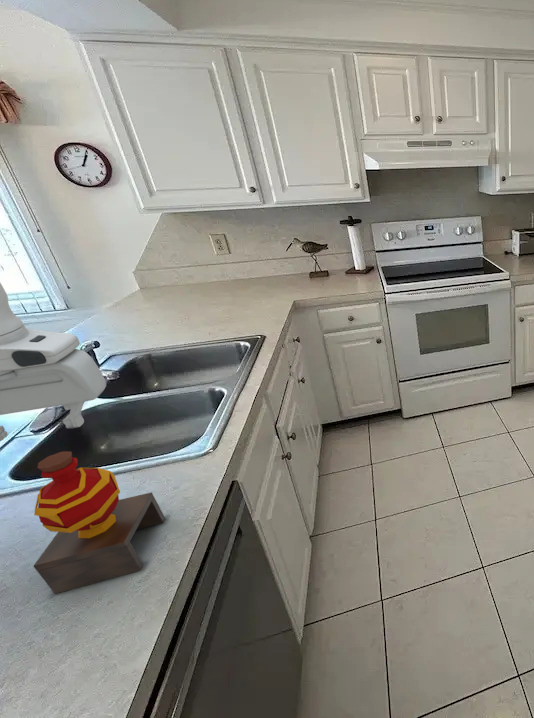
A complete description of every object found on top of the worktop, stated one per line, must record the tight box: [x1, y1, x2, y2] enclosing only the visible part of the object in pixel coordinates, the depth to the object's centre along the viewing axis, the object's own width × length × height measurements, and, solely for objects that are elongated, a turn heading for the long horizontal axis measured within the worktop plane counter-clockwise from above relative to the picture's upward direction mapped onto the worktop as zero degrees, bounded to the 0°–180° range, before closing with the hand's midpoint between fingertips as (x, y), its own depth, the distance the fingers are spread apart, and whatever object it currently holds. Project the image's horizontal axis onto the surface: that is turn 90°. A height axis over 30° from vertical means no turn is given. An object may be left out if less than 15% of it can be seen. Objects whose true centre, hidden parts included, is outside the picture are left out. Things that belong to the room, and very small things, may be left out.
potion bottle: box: [33, 450, 121, 538], centre depth 69 cm, size 10×10×15 cm
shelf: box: [33, 492, 166, 595], centre depth 74 cm, size 12×12×7 cm
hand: (38, 432), depth 63 cm, fingers open, 8 cm apart
